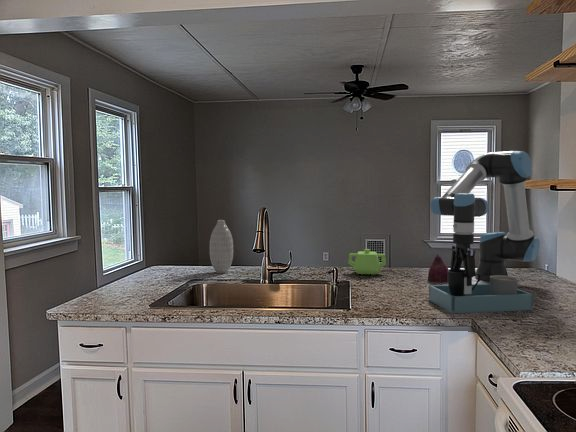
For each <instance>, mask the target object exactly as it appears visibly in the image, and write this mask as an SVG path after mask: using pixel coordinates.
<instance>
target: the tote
mask: <svg viewBox="0 0 576 432" xmlns="http://www.w3.org/2000/svg"><path fill="white" fill-rule="evenodd" d="M475 284H476V283H472V288H473V287H474V285H475ZM489 285H490V283H478V284H477V285H476V287H475V288H474V289H473V291H472V294H468V295H466V296H453V295H451V293H450V289H449V286H448V284H438V285H437V284H436V285H435V284H433V285H432V284H431V285H428V286H429V287H428V294H429V295H428V300H429V301H430V302H431V303H433V304H435V305H437V306H438V307H440V308H442V309H444V310H445V309H446V311H447V312H449V313H451V314H465V313H466V314H467V313H470V314H471V313H493V312H517V311H519V312H520V311H521V312H522V311H533V309H534V306H533V305H534V294H533V293H530V292H527V291H524V290H522V289H519V288H518V289H517V294H511V295H489Z"/></svg>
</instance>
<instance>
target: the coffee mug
mask: <svg viewBox="0 0 576 432" xmlns="http://www.w3.org/2000/svg"><path fill="white" fill-rule="evenodd" d="M489 284H490V285H489V295H511V294H517V289H519V288H518V285H519V278H518V277H516V276H511V275H508V276H503V275H494V276H490V281H489Z"/></svg>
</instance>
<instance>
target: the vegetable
mask: <svg viewBox="0 0 576 432" xmlns="http://www.w3.org/2000/svg"><path fill="white" fill-rule="evenodd" d="M428 269H429V270H428V275H427V281H429V282H431V283H438V284H439V283H441V284H443V283H448V279H447V271H448V270H449V268H448V266H447V264H446V263H445V262H444V260H443V258H442V257H441V256H440V255H439V254H437V253H436V255H435V256H434V259H433V261H432V262H431V265H430V267H429V268H428Z"/></svg>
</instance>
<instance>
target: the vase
mask: <svg viewBox="0 0 576 432" xmlns="http://www.w3.org/2000/svg"><path fill="white" fill-rule="evenodd" d="M209 258H210V262H211V267H212V268H213V270H214V271H215V273H217V274H227V273H228V271H229V270H230V268H231V266H232V262H233V260H234V239H233V236H232V232H231V231H230V229H229V227H228V226H227V224H226V221H225V220H224V219H218V220H217V222H216V224H215V226H214V228H213V230H212V232H211V234H210V239H209Z"/></svg>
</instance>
